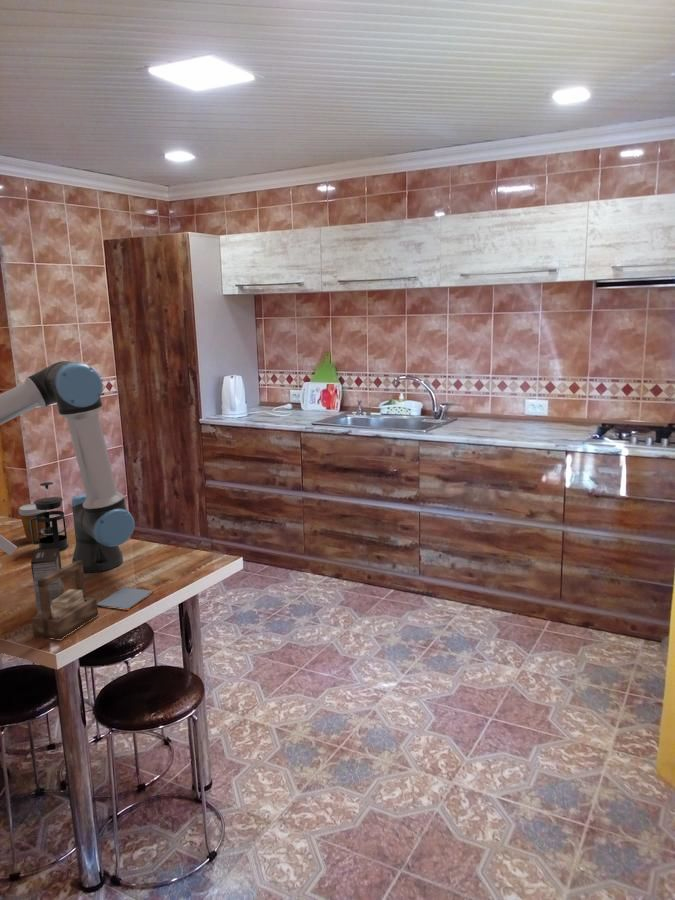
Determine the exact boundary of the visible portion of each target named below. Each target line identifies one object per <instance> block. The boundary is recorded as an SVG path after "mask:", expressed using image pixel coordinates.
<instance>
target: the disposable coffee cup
mask: <svg viewBox="0 0 675 900" xmlns="http://www.w3.org/2000/svg"><path fill="white" fill-rule="evenodd" d="M43 512H48V510H37V509H36V505H35V504H34V502H33V503H28V504H24V505H22V506H20V507H19V509H18V514H19V517H20V519H21V523H22V526H23V530H24V534H25V538H26V541H27V542H30V543H32V536H31V528H30V518H35V517H36V515H37V514H40V513H43ZM40 518H44V516H43V517H40ZM32 526H33V535H34V542H38V534H37V525H36V520H32ZM38 526H39V531H40V530H42V529H44V528H45V522H38ZM43 537H46V536H42V535H40V539H41V538H43Z"/></svg>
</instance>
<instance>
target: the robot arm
mask: <svg viewBox="0 0 675 900" xmlns="http://www.w3.org/2000/svg"><path fill="white" fill-rule="evenodd" d="M103 387H104V386H103V381H102V378H101V376H100V374H99V373H98V372H97V370H95V369H94V368H93V367H92V366H89V365H87V364H85V363H83V362H78V361H75V362H74V361H62V360H61V361H58V362H54V363H52V364H51V365H48V366H47V367H44V368H43V369H40V370H39V371H37V372H36V373H34V374H32V375H30V376H27V377H26V378H25V380H24V382H23V383H21V384H19V385H17V386H15V387H13V388H10V389H8V390H6V391H4V392H2V393H0V426H1V425H3V424H5V423H7V422H9V421H11V420H14V419H15V418H18V417H20V416H21V415H23V414H26V413H28V412H30V411H32V410H34V409H36V408H38V407H40V408H46V407H48V406H51V405H53V404H56V405H57V410H58V413H59V415H60V416H61V417H63V418H65V419H66V421H67V426H68V429H69V430H68V431H69V433H70V437H71V443H72V446H73V450H74V454H75V457H76V462H77V465H78V469H79V474H80V477H81V481H82V485H83V489H84V492H85V493H81V494H78V495H75V496H73V497H72V500H71V509H72V515H73V516H72V517H73V527H74V536H75V547H74V551H73V556H72V560H71V563H73V562H75V561H77V560H80V561H82V563H83V572H84V573H97V572H98V573H99V572H104V571H109V570H112V569H114V568H117V567H118V566H120V565H122V564H123V562H124V556H123V551H122V550H121V548H120V546H121V545H123V544H124V543H126V542H127V541H128V540H129V539H130V538H131V536H132V535H133V533H134V531H135V530H134V529H135V527H136V526H135V518H134V517H133V516H132V514H131V512H130V511H128V509H127V506H126V502H125V496H124V494H123V493H121V492H119V491H118V490H117V486H116V481H115V477H114V474H113V470H112V469H113V468H112V464H111V461H110V457H109V452H108V447H107V444H106V440H105V435H104V431H103V428H102V426H103V425H102V423H101V418H100V413H99V412H100V411H101V410H102V408H103V403H102V399H101V395H102V393H103ZM17 549H18V546H17V545H15V544H14V543H12V542H11V541H9V540H8V539H7V538H5V537H4V536H3V535H2V534H0V550H1V551H3V552H5V554H7V555H9V556H11V555H12V554H13V553H14V552H15V550H17ZM3 566H4V565H3V564H2V563H1V562H0V569H1V568H2V567H3Z"/></svg>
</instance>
